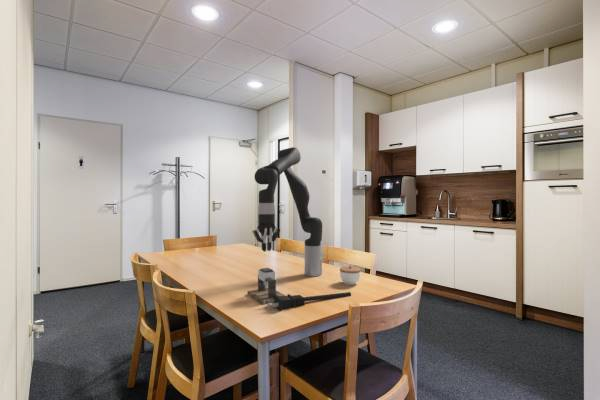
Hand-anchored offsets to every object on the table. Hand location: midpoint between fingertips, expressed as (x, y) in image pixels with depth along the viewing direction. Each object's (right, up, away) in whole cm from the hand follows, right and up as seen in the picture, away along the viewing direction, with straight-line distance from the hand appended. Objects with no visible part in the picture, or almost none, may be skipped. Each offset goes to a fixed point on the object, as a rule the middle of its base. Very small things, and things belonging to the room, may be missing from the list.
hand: (266, 250), depth 144 cm
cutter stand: (0, -21, 0) cm, 21 cm away
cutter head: (0, -16, 0) cm, 16 cm away
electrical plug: (+20, -22, -6) cm, 30 cm away
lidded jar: (+42, -21, +23) cm, 52 cm away
